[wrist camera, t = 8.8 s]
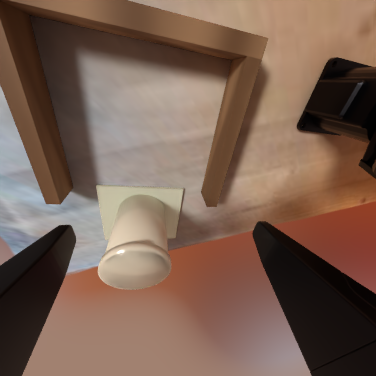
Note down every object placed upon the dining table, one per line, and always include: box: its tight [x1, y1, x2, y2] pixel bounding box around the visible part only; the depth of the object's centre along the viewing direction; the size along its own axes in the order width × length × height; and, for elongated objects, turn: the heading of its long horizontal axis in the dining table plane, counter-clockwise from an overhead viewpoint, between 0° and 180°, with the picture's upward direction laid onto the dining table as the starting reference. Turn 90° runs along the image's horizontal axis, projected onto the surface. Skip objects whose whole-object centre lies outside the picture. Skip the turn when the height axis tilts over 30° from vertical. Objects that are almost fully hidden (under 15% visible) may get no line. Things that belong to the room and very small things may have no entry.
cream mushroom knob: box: [98, 194, 171, 290], centre depth 19 cm, size 9×6×8 cm
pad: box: [96, 185, 183, 240], centre depth 22 cm, size 10×9×1 cm
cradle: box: [0, 0, 268, 207], centre depth 15 cm, size 17×15×3 cm
